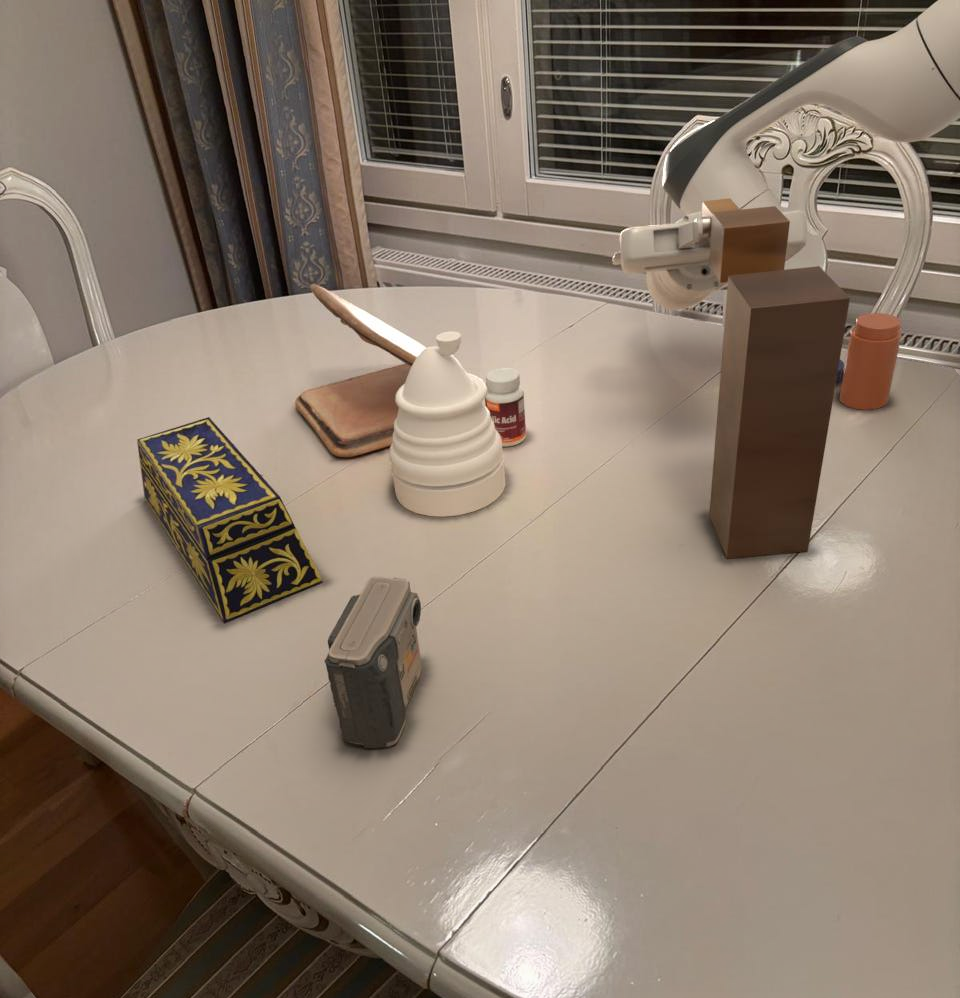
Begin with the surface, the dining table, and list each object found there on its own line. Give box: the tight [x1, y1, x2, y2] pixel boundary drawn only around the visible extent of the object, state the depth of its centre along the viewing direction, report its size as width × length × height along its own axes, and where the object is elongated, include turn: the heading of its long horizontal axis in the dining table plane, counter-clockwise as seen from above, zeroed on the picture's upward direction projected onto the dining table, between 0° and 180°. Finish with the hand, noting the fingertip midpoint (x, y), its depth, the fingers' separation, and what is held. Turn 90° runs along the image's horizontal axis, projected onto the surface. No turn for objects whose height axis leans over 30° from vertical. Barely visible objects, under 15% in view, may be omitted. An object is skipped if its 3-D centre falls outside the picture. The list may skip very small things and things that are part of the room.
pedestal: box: [708, 265, 851, 560], centre depth 85 cm, size 8×8×25 cm
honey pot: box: [389, 330, 507, 518], centre depth 100 cm, size 13×13×18 cm
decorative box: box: [136, 416, 324, 624], centre depth 99 cm, size 11×30×9 cm, turn 31°
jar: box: [838, 312, 903, 411], centre depth 110 cm, size 6×6×10 cm
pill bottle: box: [484, 367, 527, 447], centre depth 111 cm, size 5×5×8 cm
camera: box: [324, 576, 423, 749], centre depth 76 cm, size 11×6×10 cm, turn 164°
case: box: [294, 283, 427, 458], centre depth 118 cm, size 20×21×16 cm
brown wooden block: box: [702, 199, 790, 283], centre depth 91 cm, size 16×6×5 cm, turn 1°
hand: (726, 223), depth 94 cm, fingers closed on brown wooden block, 3 cm apart
